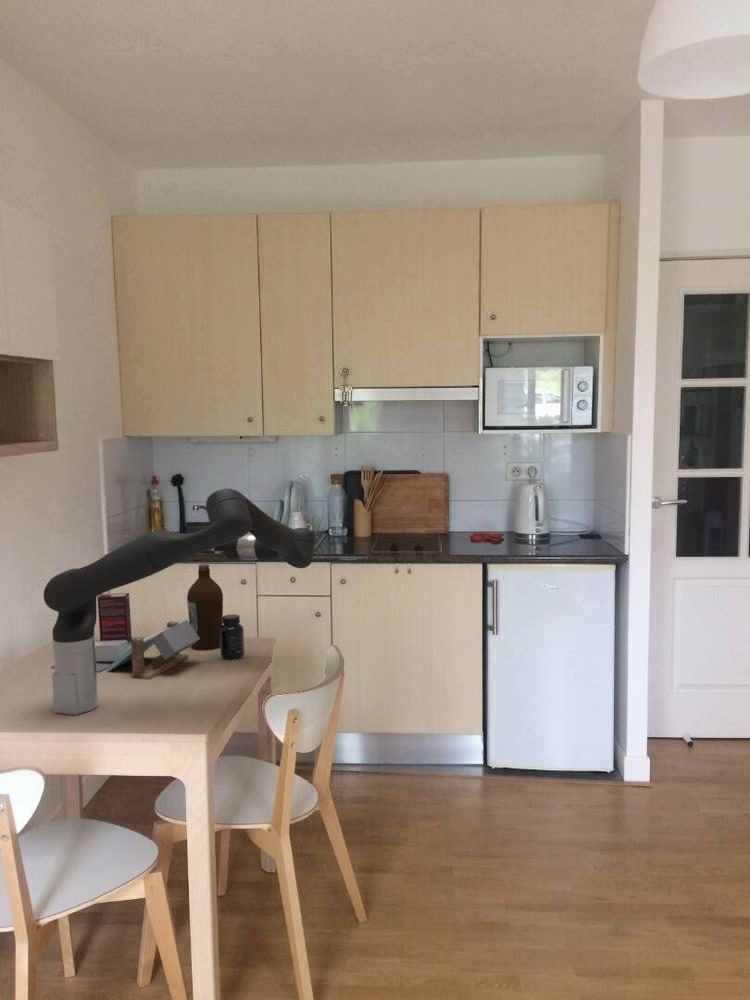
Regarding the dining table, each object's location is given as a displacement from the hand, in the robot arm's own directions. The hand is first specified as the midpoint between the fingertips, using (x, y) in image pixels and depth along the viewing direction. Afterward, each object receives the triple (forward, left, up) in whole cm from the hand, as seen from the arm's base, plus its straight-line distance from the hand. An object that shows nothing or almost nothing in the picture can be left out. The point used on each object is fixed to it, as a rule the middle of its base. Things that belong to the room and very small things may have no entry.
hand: (192, 544), depth 214 cm
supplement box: (+10, +34, -34) cm, 49 cm away
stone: (-6, +20, -30) cm, 37 cm away
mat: (-6, +30, -34) cm, 46 cm away
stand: (-6, +8, -34) cm, 35 cm away
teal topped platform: (-6, +7, -33) cm, 35 cm away
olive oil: (+16, +6, -34) cm, 38 cm away
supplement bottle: (+8, -7, -34) cm, 36 cm away
